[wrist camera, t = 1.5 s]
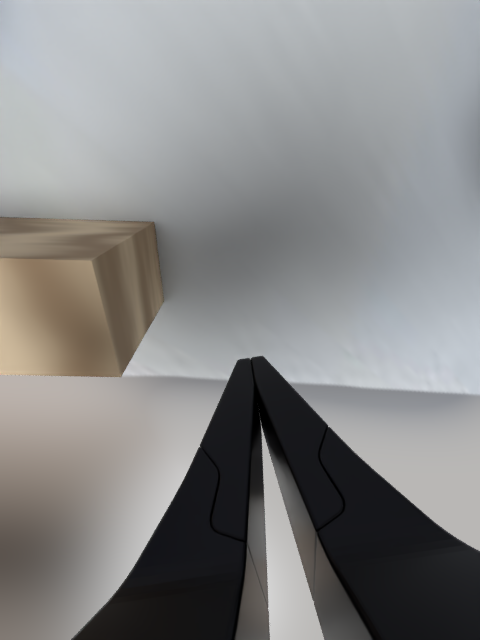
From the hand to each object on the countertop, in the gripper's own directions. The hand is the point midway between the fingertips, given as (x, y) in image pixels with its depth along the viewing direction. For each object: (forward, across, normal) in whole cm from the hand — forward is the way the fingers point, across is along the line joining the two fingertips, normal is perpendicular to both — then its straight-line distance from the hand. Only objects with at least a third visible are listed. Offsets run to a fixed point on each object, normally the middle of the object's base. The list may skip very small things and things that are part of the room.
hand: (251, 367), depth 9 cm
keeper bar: (+13, +13, -1) cm, 19 cm away
